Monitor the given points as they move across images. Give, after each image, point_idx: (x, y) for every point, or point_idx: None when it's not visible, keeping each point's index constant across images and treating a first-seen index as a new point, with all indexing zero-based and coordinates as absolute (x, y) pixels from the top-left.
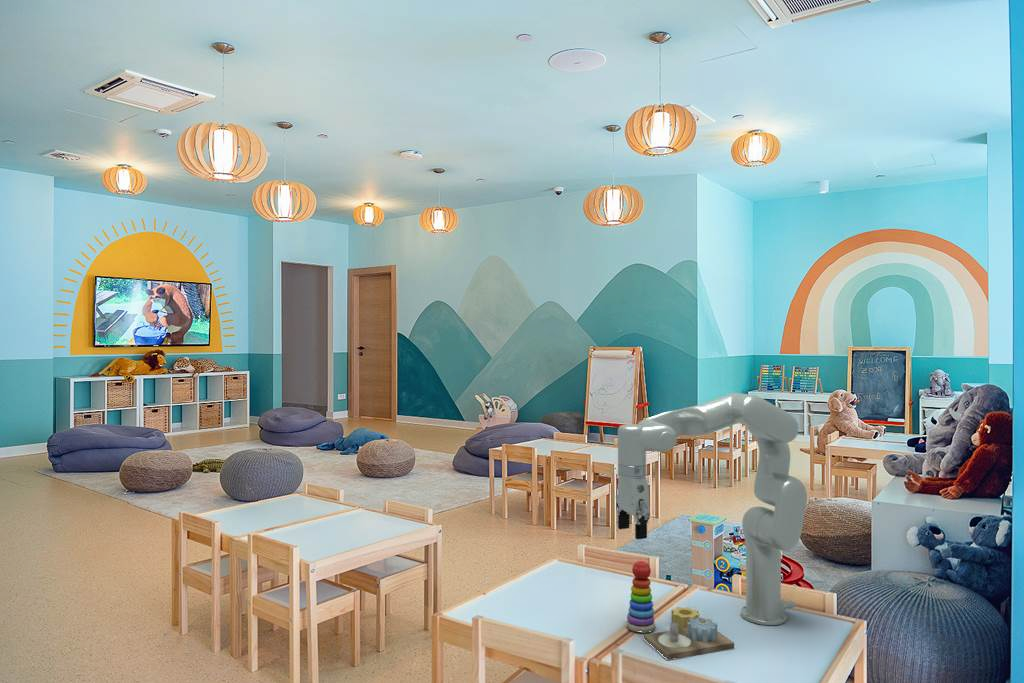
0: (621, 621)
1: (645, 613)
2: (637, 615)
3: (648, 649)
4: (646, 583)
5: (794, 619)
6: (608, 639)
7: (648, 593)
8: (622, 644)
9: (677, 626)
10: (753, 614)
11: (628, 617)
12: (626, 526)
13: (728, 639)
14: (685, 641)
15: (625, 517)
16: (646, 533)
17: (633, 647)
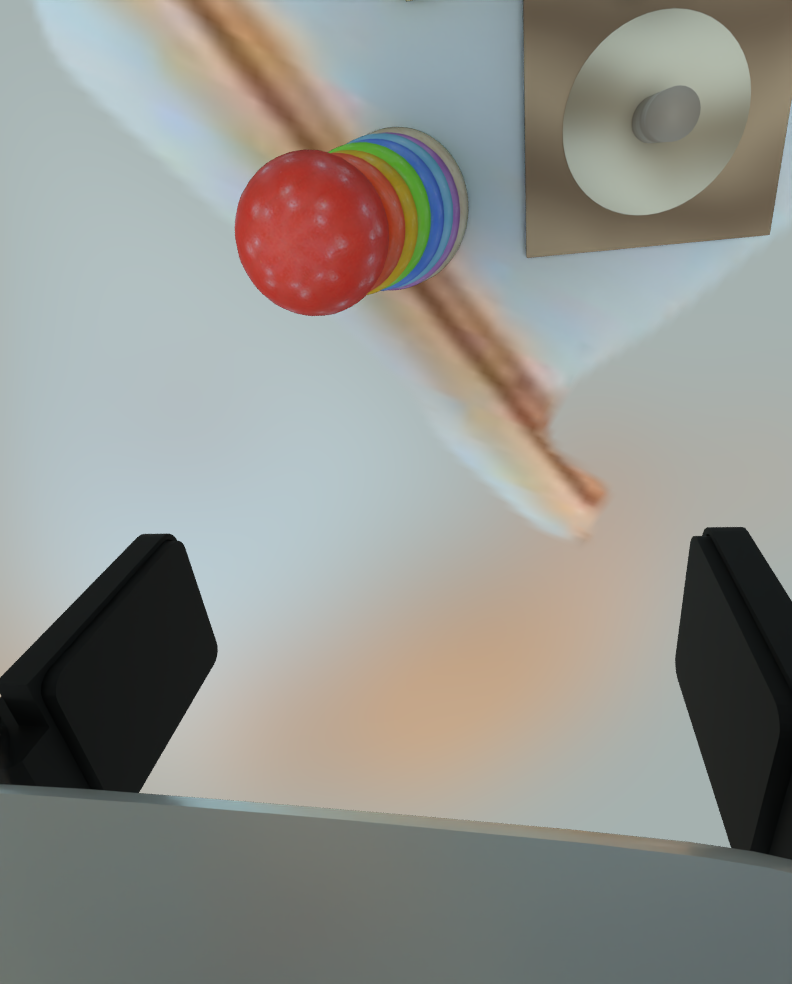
0: None
1: (448, 219)
2: (435, 263)
3: (618, 271)
4: (399, 215)
5: None
6: (469, 401)
7: (410, 193)
8: (530, 364)
9: (697, 99)
10: None
11: (391, 289)
12: (181, 590)
13: None
14: (694, 52)
15: (106, 707)
16: (765, 573)
17: (574, 330)
